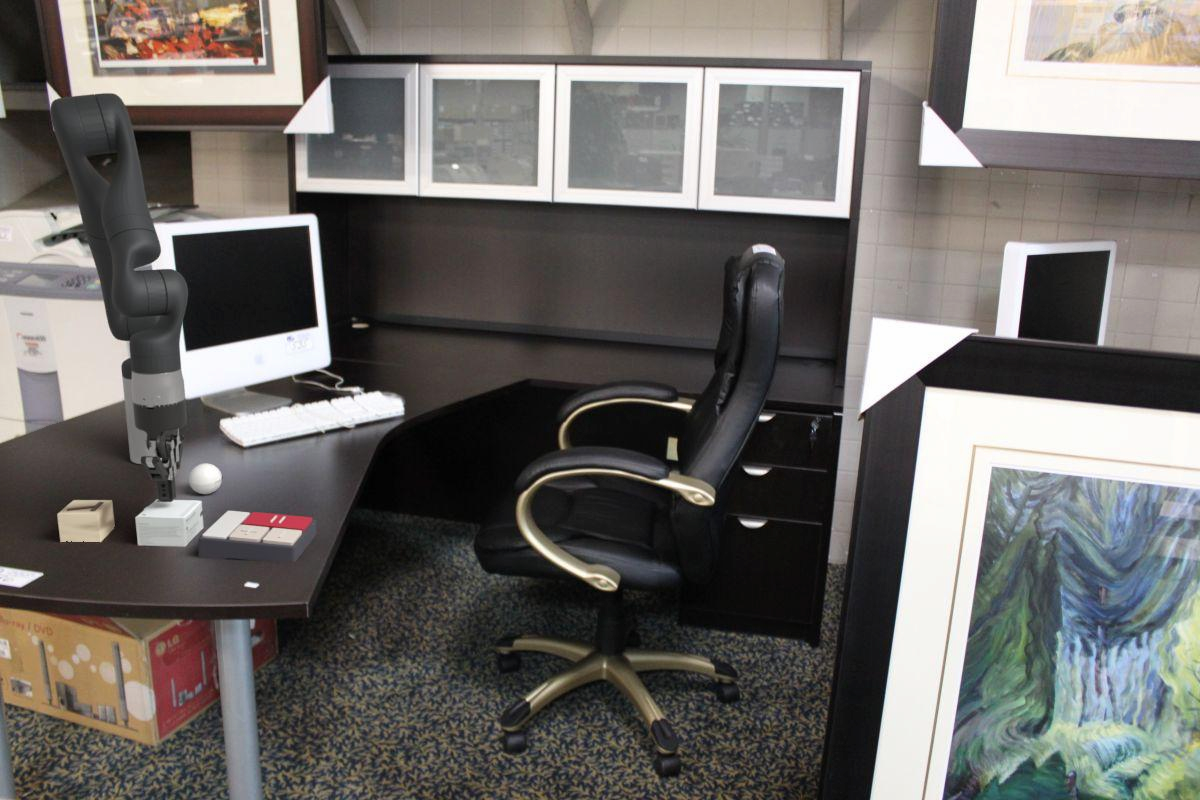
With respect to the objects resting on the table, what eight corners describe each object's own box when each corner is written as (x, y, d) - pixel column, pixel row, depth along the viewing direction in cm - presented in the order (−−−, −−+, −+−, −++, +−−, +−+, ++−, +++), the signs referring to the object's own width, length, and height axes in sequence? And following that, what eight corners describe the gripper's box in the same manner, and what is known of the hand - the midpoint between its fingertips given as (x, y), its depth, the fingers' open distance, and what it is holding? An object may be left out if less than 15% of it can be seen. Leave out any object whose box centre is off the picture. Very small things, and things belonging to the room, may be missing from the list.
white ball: (212, 500, 169) (210, 470, 168) (183, 497, 170) (181, 467, 169) (235, 485, 177) (233, 457, 175) (207, 482, 177) (205, 454, 176)
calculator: (294, 543, 146) (197, 533, 146) (294, 568, 147) (197, 559, 147) (317, 515, 156) (226, 506, 156) (316, 539, 157) (226, 530, 157)
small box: (186, 547, 150) (184, 518, 149) (136, 546, 150) (133, 516, 149) (205, 528, 158) (202, 499, 156) (157, 527, 158) (154, 498, 156)
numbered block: (76, 528, 156) (73, 499, 154) (115, 528, 156) (111, 499, 155) (60, 543, 150) (57, 513, 148) (100, 543, 150) (97, 513, 149)
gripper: (150, 386, 154) (158, 485, 158) (116, 408, 141) (127, 515, 146) (197, 386, 155) (204, 486, 159) (168, 409, 142) (177, 516, 146)
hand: (167, 500), depth 152 cm, fingers closed
